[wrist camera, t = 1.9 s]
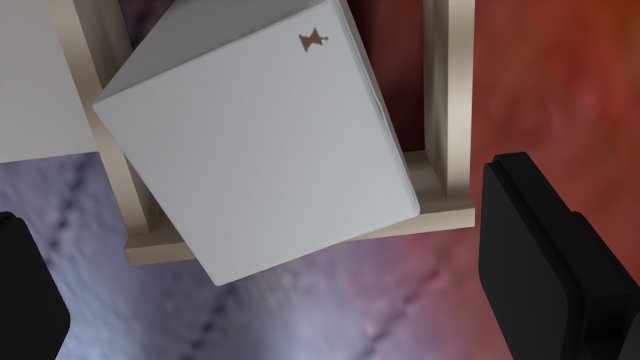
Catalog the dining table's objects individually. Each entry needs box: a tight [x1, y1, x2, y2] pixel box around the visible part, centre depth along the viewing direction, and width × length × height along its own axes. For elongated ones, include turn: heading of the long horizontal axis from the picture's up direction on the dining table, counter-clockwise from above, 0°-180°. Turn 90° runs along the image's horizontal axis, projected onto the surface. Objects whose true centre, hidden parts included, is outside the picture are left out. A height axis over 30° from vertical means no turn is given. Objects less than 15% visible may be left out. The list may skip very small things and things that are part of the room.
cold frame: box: [45, 0, 475, 267], centre depth 24 cm, size 16×16×6 cm
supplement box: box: [92, 0, 420, 286], centre depth 21 cm, size 7×7×13 cm
